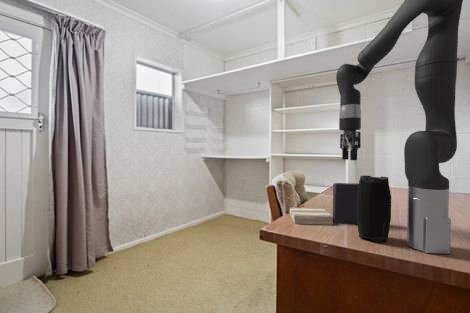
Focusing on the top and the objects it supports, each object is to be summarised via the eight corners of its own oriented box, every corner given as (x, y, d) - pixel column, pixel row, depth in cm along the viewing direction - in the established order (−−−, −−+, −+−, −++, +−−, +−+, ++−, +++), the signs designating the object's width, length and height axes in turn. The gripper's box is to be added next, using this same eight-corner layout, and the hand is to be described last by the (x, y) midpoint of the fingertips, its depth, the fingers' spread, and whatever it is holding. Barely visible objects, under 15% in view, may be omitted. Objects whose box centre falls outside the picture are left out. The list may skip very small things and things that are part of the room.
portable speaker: (353, 233, 83) (354, 175, 82) (383, 235, 81) (385, 175, 80) (360, 242, 74) (361, 177, 74) (395, 244, 72) (396, 178, 72)
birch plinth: (332, 224, 92) (332, 216, 92) (294, 223, 93) (294, 215, 93) (322, 215, 106) (322, 208, 106) (289, 214, 107) (289, 207, 107)
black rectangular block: (360, 221, 97) (361, 183, 97) (365, 224, 93) (366, 184, 93) (331, 220, 98) (332, 182, 98) (335, 223, 94) (335, 184, 94)
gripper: (368, 115, 87) (367, 160, 88) (352, 120, 101) (352, 159, 102) (346, 115, 88) (345, 160, 88) (334, 120, 102) (333, 159, 102)
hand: (349, 159), depth 95 cm, fingers open, 8 cm apart
